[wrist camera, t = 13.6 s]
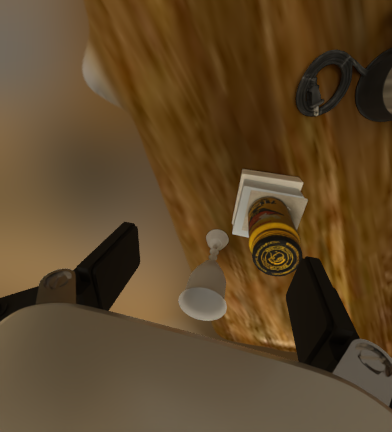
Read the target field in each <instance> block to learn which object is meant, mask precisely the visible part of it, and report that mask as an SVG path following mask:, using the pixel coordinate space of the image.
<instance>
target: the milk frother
mask: <svg viewBox="0 0 392 432" xmlns="http://www.w3.org/2000/svg"><path fill="white" fill-rule="evenodd" d="M329 64H335V65H337V66H338V67H339V68H340V69H341V72H342V77H341V82H340V85H339V87H338V89H337V91H336V93H335V94H334V96H333V97H332V98H331V99H330V100H329V101H328V102H327V103H326V104H325V105H323V106H322V107H320V108H319V105H320V104H322V103H323V102H324V99H321V95H320V92H319V85H317V77H316V75H317V73H318V72H319V71H320V70H321V69H322V68H323V67H325V66H326V65H329ZM352 65H353V66H354V67H355V68H356V69H357V71H358V72H359V73H360V74H361V75H362V76H361V78H360V80H359V82H358V85H357V88H356V95H355V100H356V105H357V108H358V110H359V111H360V113H361V114H362V115H363V116H364V117H366V118H367V119H369V120H372V121H377V122H385V121H391V120H392V48H390V49H388V50H387V51H385V52H383V53H382V54H380V55H379V56H378V57H377V58H376V59H374V60H373V61H372V62H371V64H370V65H369V66H368V67H367V68H366V69H365V68H363V67H362V66H361V65H360V64H359V63H358V62H357V61H356V60H355V59H353V58H352V57H351V56H350V55H348V54H347V53H346V52H344V51H341V50H331V51H327V52H325V53H323V54H322V55H320V56H319V57H317V58H316V59H315V60H314V61H313V62H312V63H311V65H310V66H309V67H308V69H307V70H306V72H305V73H304V75H303V77H302V79H301V81H300V83H299V86H298V88H297V93H296V105H297V108H298V110H299V111H300V112H301V113H302V114H304V115H306V116H318V115H321V114H323V113H326V112H328V111H330V110H331V109H332V108H334V107H335V106H336V105H337V104H338V103H339V101H340V100H341V99H342V97H343V96H344V95H345V93H346V91H347V89H348V87H349V85H350V82H351V78H352ZM306 92H307V93H306ZM306 97H307V98H306ZM306 99H307V101H306Z"/></svg>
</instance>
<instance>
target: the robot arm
mask: <svg viewBox="0 0 392 432" xmlns="http://www.w3.org/2000/svg"><path fill="white" fill-rule="evenodd" d="M139 264H140V254H139V241H138V229H137V227H136V226H135V224H134V223H129V222H124V223H122V224H121V225H120V226H119V227H118V228H117V229H116V230H115V231H114V232H113V233H112V234H111V235H110V236H109V237H108V238H107V239H105V240H104V241H103V242H102V243H101V244H100V245H99V246H98V247H97V248H96V249H95V250H94V251H93V252H92V253H91V254H90V255H89V256H87V257H86V258H85V259H84V260H83V261H82V262H81V263H80V264H79V265H78V266H77V267H76V268H75V269H74V270H70V269H59V270H55V271H53V272H51V273H49V274H47V275H46V276H44V277H43V279H42V280H41V281H40V283H39V286H38V287H35V288H31V289H28V290H25V291H21V292H18V293H15V294H12V295H8V296H5V297H2V298H0V432H392V358H391V357H390V356H389V355H388V354H387V353H386V352H385V351H384V350H382V349H381V348H380V347H379V346H377V345H375V344H374V343H372V342H369V341H367V340H363V339H360V338H359V336H358V334H357V332H356V330H355V328H354V326H353V324H352V322H351V320H350V317H349V315H348V313H347V311H346V309H345V307H344V305H343V303H342V301H341V299H340V297H339V295H338V293H337V291H336V289H335V288H333V286H332V284H331V282H330V280H329V278H328V276H327V274H326V272H325V270H324V268H323V265H322V263H321V261H320V260H319V259H318V258H313V257H308V256H307V257H305V259H303V258H302V259H301V261H300V263H299V265H298V268H297V270H296V272H295V275H294V277H293V279H292V282H291V284H290V286H289V289H288V291H287V294H286V301H287V306H288V311H289V316H290V321H291V326H292V331H293V336H294V341H295V345H296V350H297V355H298V360H299V362H297V361H293V360H290V359H286V358H283V357H280V356H276V355H273V354H269V353H265V352H262V351H258V350H254V349H250V348H247V347H243V346H240V345H236V344H232V343H228V342H225V341H221V340H217V339H214V338H210V337H206V336H203V335H199V334H195V333H191V332H188V331H184V330H180V329H176V328H172V327H169V326H165V325H161V324H157V323H153V322H150V321H145V320H142V319H138V318H134V317H130V316H126V315H123V314H119V313H114V312H111V311H109V309H110V308H111V306H112V305H113V303H114V302H115V300H116V299H117V297H118V296H119V294H120V293H121V292H122V290H123V289H124V287H125V285H126V284H127V283H128V281H129V280H130V278H131V277H132V275H133V274H134V272H135V271H136V269H137V268H138V266H139Z"/></svg>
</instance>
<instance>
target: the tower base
mask: <svg viewBox="0 0 392 432" xmlns="http://www.w3.org/2000/svg"><path fill="white" fill-rule="evenodd" d="M244 179H249V180H254V181H260V182H265V183H270V184H276V185H281V186H287V187H292V188H298V189H299V190H300V191H301V188H302V186H303V182H302V180H301V179H300V178H299V177H294V176H287V175H280V174H274V173H267V172H260V171H253V170H247V169H242V174H241V179H240V183H239V188H238V193H237V198H236V203H235V208H234V213H233V219H232V224H233V223H234V219H235V215H236V210H237V206H238V202H239V198H240V194H241V190H242V186H243V182H244Z"/></svg>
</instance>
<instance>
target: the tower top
mask: <svg viewBox="0 0 392 432" xmlns="http://www.w3.org/2000/svg"><path fill="white" fill-rule="evenodd" d="M251 190H254V191H260V192H267V193H273V194H280V195H285V196H291V197H298V198H304V196H303V195H302V193H301V192H300V190H299V189H298V188H292V187H287V186H281V185H276V184H270V183H265V182H260V181H254V180H249V179H244V182H243V186H242V190H241V194H240V198H239V202H238V206H237V210H236V215H235V219H234V223H233V230H232V234H235V235H239V236H244V237H248V238H249V234H248V231H244V230H242V227H243V223H244V218H245V214H246V209H247V205H248V201H249V196H250V192H251ZM287 208H288V207H287ZM289 210H290V209H289Z"/></svg>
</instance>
